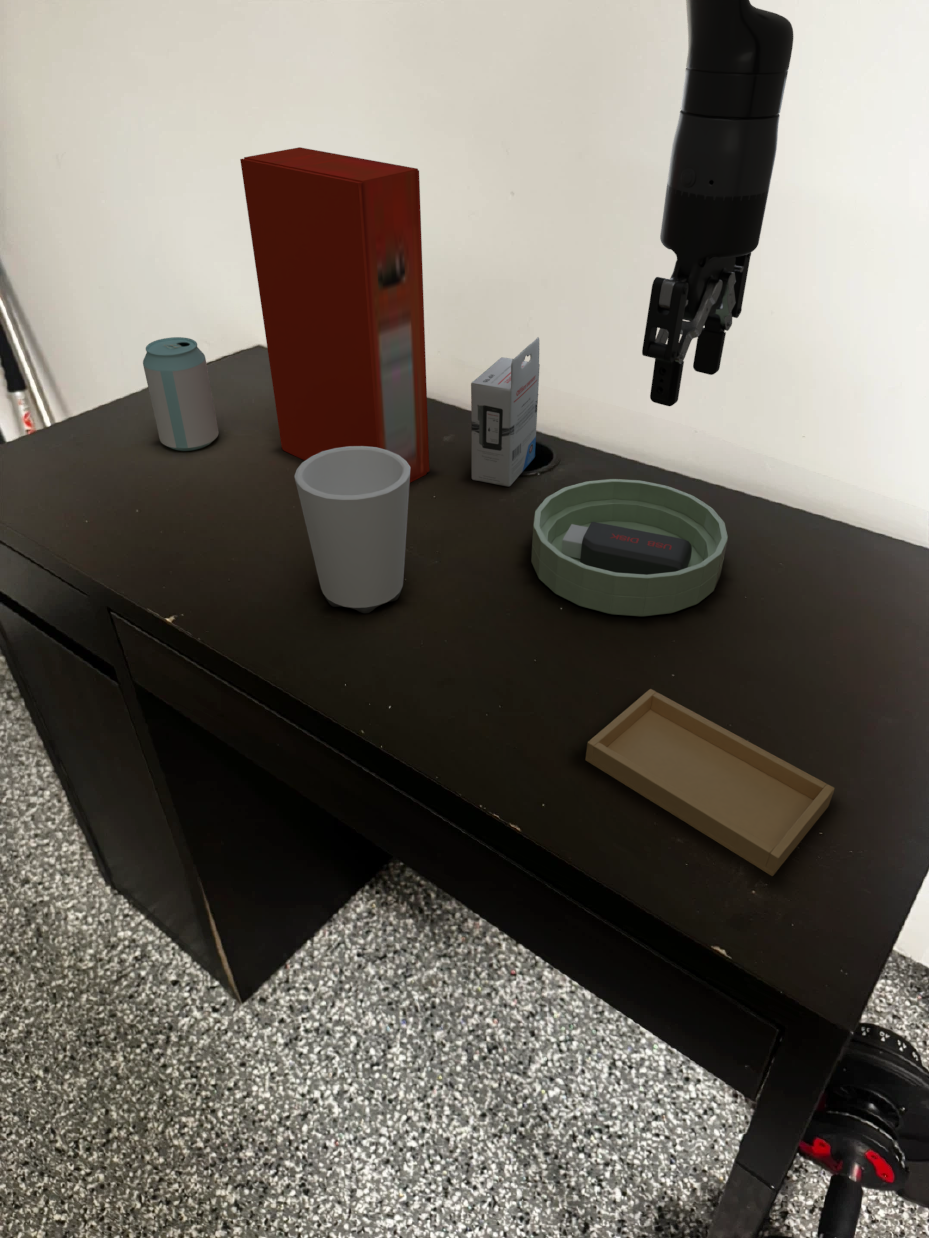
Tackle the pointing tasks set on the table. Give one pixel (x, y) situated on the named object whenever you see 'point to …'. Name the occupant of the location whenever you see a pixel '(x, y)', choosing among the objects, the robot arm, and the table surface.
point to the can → (180, 393)
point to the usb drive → (626, 549)
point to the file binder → (341, 300)
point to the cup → (356, 523)
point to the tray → (711, 779)
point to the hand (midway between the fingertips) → (685, 387)
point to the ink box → (505, 417)
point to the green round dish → (638, 511)
